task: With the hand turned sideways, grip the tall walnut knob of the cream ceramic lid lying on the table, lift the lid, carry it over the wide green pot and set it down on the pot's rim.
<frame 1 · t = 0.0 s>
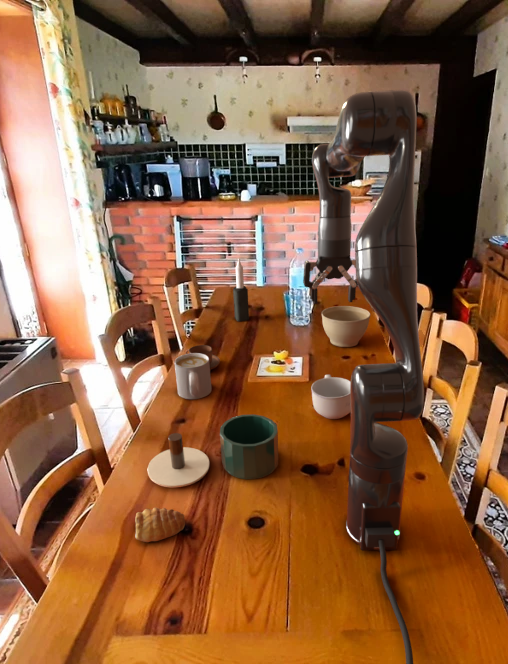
hand: (332, 302, 118), 29 cm above the table, tool pointing down, fingers open, 8 cm apart
pastry: (157, 529, 92), on the table
planter bowl: (344, 342, 169), on the table
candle: (241, 319, 197), on the table
lid: (178, 467, 108), point 1 cm above the table
teacup: (332, 410, 128), on the table
green pot: (250, 461, 109), on the table
cup and saucer: (201, 367, 157), on the table
coffee mug: (193, 394, 141), on the table
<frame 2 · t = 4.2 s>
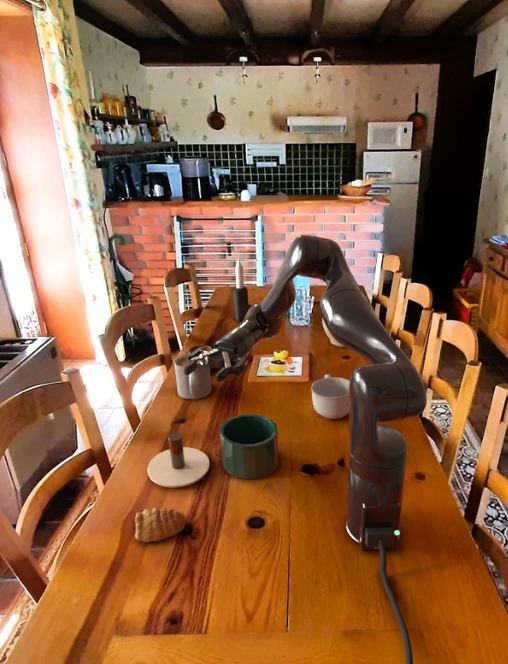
hand: (201, 375, 110), 18 cm above the table, tool horizontal, fingers open, 8 cm apart
nothing on the table moved.
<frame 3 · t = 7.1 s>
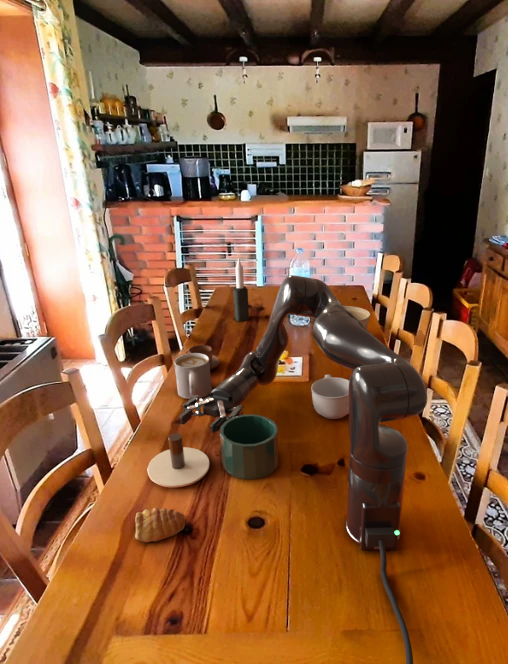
hand: (196, 425, 112), 7 cm above the table, tool horizontal, fingers open, 8 cm apart
nothing on the table moved.
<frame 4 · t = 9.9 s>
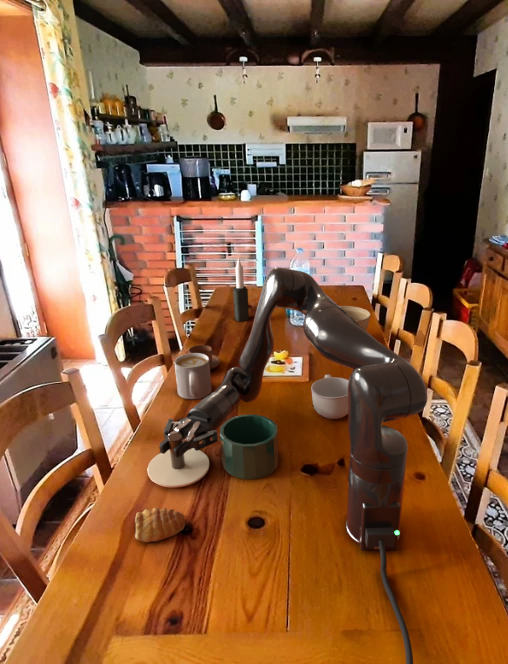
hand: (168, 452, 103), 7 cm above the table, tool horizontal, fingers closed on lid, 3 cm apart
lid: (178, 467, 108), point 1 cm above the table, touching gripper
everything else where it was.
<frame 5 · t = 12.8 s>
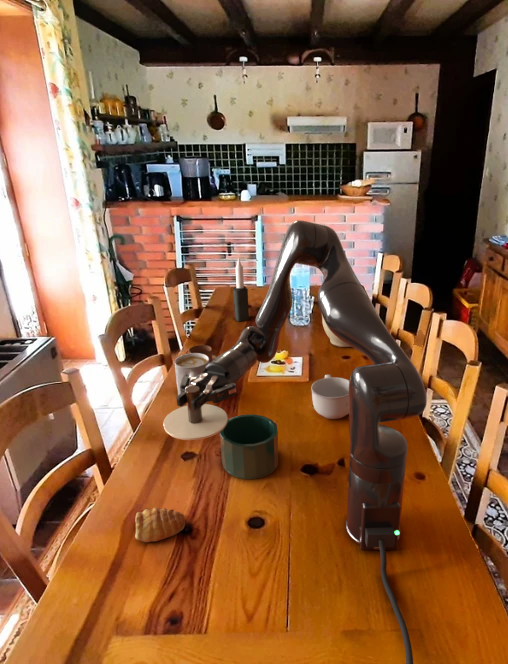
hand: (185, 404, 99), 18 cm above the table, tool horizontal, fingers closed on lid, 3 cm apart
lid: (195, 421, 104), point 12 cm above the table, touching gripper
everything else where it was.
when the fingers open (14 cm above the table, at t = 15.8 s): lid stays where it is, resting on green pot.
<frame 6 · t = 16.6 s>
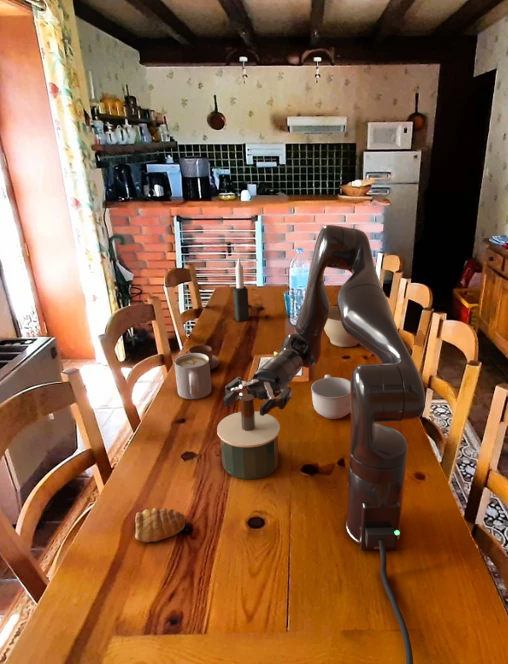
hand: (243, 407, 102), 15 cm above the table, tool horizontal, fingers open, 8 cm apart
lid: (248, 429, 106), point 8 cm above the table, touching green pot
everything else where it was.
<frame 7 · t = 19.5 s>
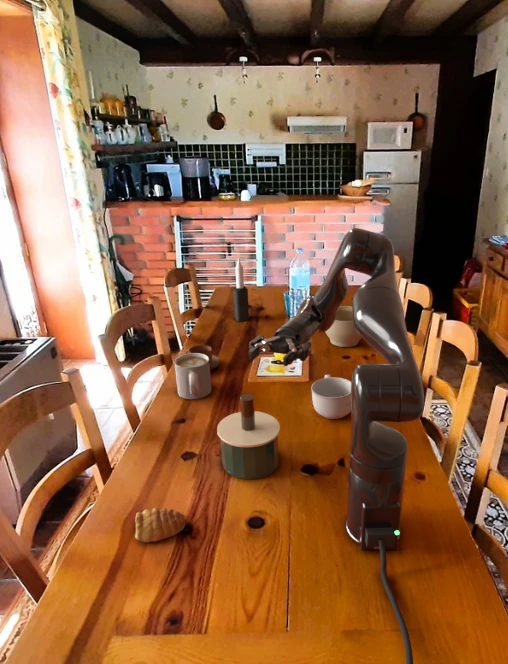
hand: (267, 359, 110), 21 cm above the table, tool horizontal, fingers open, 8 cm apart
nothing on the table moved.
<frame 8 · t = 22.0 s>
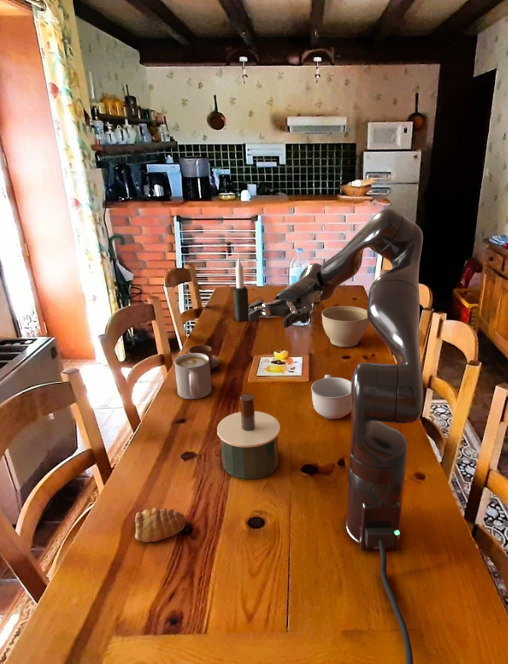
hand: (267, 321, 107), 30 cm above the table, tool horizontal, fingers open, 8 cm apart
nothing on the table moved.
at the end: lid 0.1 cm off-centre on the green pot, point 8.5 cm above the green pot's base; lid tilted 0°; the gripper is holding nothing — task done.
